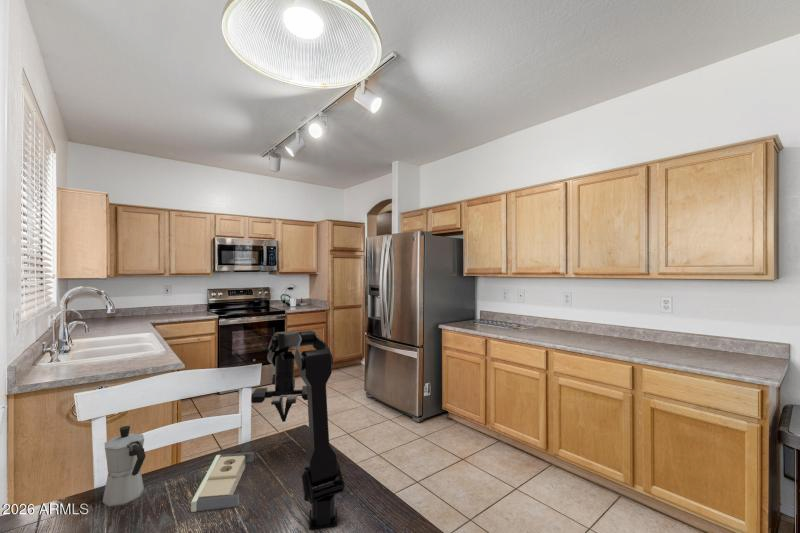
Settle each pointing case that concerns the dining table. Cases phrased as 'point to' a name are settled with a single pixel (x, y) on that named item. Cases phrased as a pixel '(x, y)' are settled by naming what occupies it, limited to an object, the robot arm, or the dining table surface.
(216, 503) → the bracket rack
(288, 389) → the robot arm
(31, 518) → the dining table surface
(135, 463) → the coffee maker
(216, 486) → the electrical outlet
